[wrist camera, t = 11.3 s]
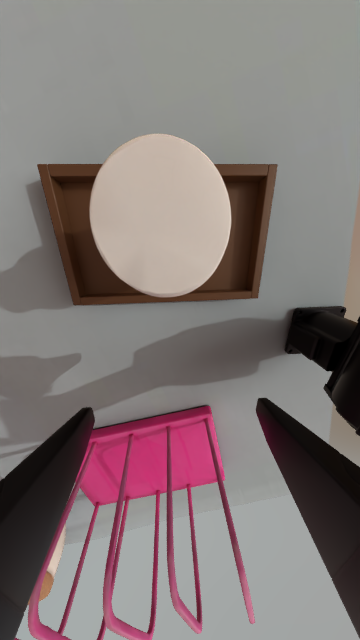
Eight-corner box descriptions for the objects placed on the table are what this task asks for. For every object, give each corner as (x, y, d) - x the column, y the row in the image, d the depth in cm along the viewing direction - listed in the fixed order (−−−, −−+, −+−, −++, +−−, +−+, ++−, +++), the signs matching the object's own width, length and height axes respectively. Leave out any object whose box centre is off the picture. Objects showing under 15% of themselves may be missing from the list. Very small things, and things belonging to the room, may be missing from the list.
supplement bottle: (128, 206, 16) (15, 75, 4) (198, 203, 16) (278, 71, 4) (138, 278, 19) (84, 325, 7) (199, 274, 19) (251, 314, 7)
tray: (265, 174, 16) (278, 163, 14) (249, 294, 21) (258, 298, 19) (53, 174, 15) (36, 163, 13) (82, 300, 20) (73, 305, 18)
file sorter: (222, 468, 33) (265, 637, 19) (98, 494, 34) (44, 677, 19) (209, 403, 27) (258, 584, 12) (55, 436, 27) (-73, 647, 13)
